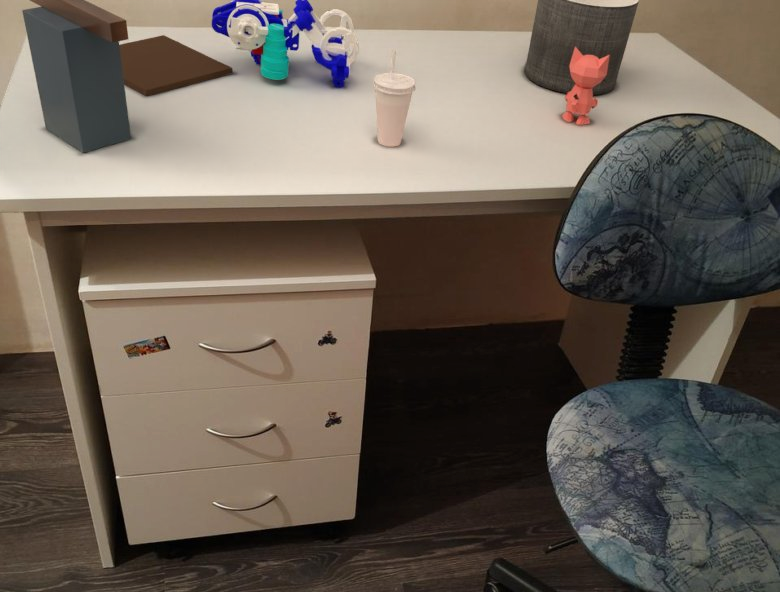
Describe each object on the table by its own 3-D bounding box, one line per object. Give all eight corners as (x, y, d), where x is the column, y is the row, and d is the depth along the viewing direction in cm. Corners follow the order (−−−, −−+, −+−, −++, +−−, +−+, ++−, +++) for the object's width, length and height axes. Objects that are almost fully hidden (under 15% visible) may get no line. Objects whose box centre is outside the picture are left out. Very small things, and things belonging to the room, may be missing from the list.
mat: (146, 96, 132) (145, 90, 131) (78, 59, 141) (77, 53, 140) (232, 73, 142) (232, 67, 142) (164, 40, 152) (163, 35, 151)
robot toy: (363, 23, 134) (209, 10, 129) (356, 95, 141) (211, 84, 137) (354, -5, 145) (213, -18, 141) (348, 63, 153) (214, 52, 148)
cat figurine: (599, 119, 142) (618, 49, 134) (589, 132, 137) (608, 61, 129) (561, 109, 144) (577, 40, 136) (549, 121, 139) (566, 50, 131)
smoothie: (365, 133, 128) (371, 43, 119) (403, 132, 130) (412, 43, 121) (374, 150, 124) (381, 58, 115) (414, 150, 125) (424, 58, 116)
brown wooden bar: (112, 42, 102) (109, 23, 101) (29, 0, 111) (25, -18, 110) (128, 39, 104) (126, 19, 102) (45, -2, 113) (42, -21, 111)
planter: (622, 100, 149) (648, 11, 139) (528, 90, 149) (546, 0, 138) (607, 67, 163) (629, -17, 152) (520, 57, 162) (536, -28, 152)
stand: (83, 153, 115) (62, 31, 104) (45, 129, 119) (21, 9, 108) (131, 138, 120) (116, 20, 109) (93, 116, 124) (75, 0, 113)
